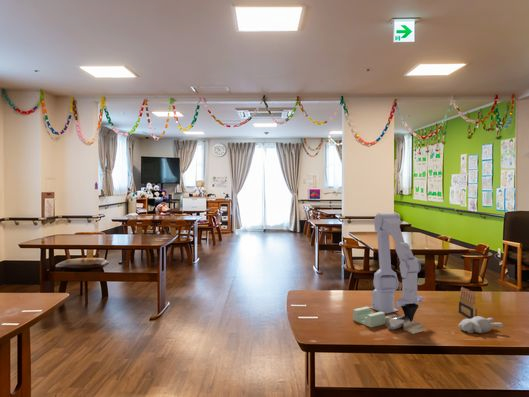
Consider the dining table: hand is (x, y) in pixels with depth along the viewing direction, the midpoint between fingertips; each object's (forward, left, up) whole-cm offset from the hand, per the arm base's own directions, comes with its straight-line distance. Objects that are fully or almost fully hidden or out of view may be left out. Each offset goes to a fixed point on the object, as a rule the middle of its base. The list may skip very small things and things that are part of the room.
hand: (409, 321), depth 158 cm
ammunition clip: (+6, +31, -2) cm, 31 cm away
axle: (0, -6, -1) cm, 6 cm away
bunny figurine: (+18, +19, -2) cm, 26 cm away
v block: (-11, -11, -1) cm, 16 cm away
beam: (0, -3, -1) cm, 4 cm away
